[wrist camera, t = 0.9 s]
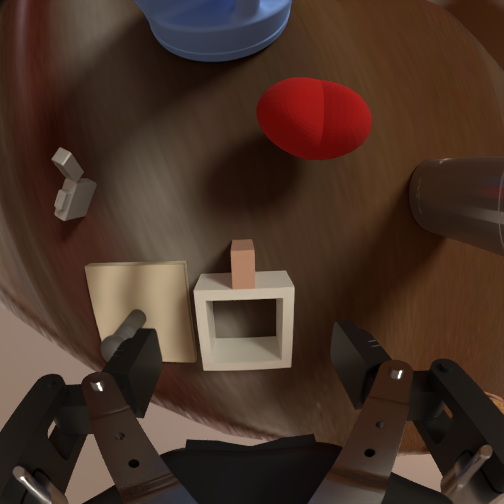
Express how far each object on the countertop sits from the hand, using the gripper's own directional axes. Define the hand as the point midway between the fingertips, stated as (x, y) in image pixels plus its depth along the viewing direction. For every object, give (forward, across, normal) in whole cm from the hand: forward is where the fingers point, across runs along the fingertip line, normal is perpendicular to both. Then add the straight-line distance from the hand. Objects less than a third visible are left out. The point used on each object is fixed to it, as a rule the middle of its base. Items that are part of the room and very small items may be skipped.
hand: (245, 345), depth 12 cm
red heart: (+18, -6, -12) cm, 22 cm away
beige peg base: (+18, +12, +6) cm, 22 cm away
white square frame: (+17, 0, +5) cm, 18 cm away
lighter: (+18, +17, -8) cm, 26 cm away
